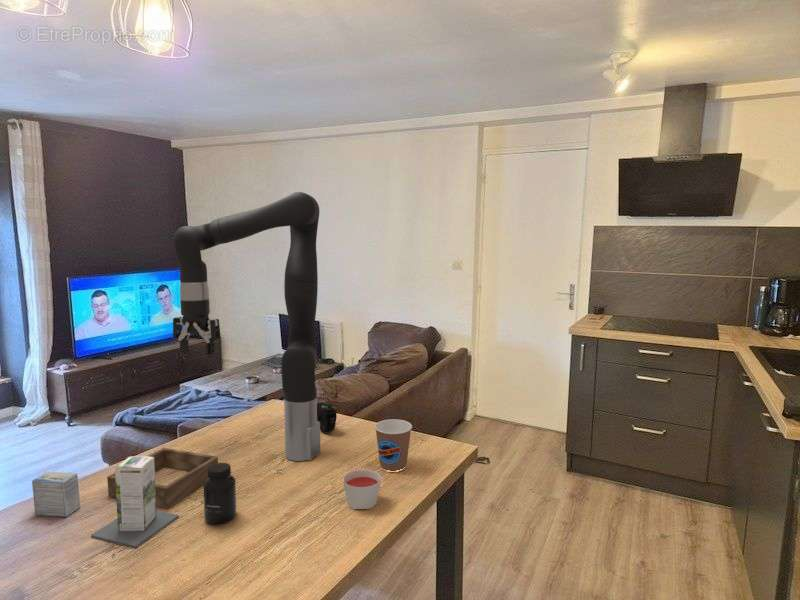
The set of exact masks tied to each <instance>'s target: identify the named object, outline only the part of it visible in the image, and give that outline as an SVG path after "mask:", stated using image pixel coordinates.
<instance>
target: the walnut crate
mask: <svg viewBox="0 0 800 600" xmlns="http://www.w3.org/2000/svg"><path fill="white" fill-rule="evenodd" d="M147 456H148V457H154V468H155V473H156V472H159V471H160V470H162V469H164V468H168V469H169V468H170V469H174V470H179V471H186V472H187V473H185V474H184V475H181V476H180V477H179V478H176V479H175V480H174V481H172V482H171V483H169V484H167V485H163V484H158V483H155V493H156V508H162V509H167V510H168V509H170V508H172V506H175V504H177V503H179V502H180V501H181V500H183V499H185V498H186V497H188V496H189V495H191V494H192V493H193V492H195V491H196V490H198V489H199V488H201V487H202V486H204V482H205V480H206V479H207V478H208V468H209V467H210V466H211V465H213V464H216V463H219V458H218V456H215V455H210V454H204V453H197V452H192V451H185V450H179V449H175V448H169V447H162V448H160V449H158V450H155V452H153V453H151V454H149V455H147ZM106 477H107V493H108V495H107V496H108V497H110V498H116V479H115V472H113V473H111V474H110V475H108V476H106Z"/></svg>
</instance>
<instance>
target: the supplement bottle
mask: <svg viewBox="0 0 800 600" xmlns="http://www.w3.org/2000/svg"><path fill="white" fill-rule="evenodd" d="M236 487H237V486H236V478H235V477H234V476H233V475H232V469H231V464H229V463H227V462H218V463H216V464H213V465H211V466H210V467H209V468H208V478H207V479H206V480H205V482H204V485H203V516H204V517H203V518H204V521H205V522H206V523H207V524H209V525H213V526H220V525H223V524H224V525H225V524H228V523H229V522H231V521H232V520H234V519H235V517H236V514H237V490H236V489H237V488H236Z"/></svg>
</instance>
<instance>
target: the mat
mask: <svg viewBox="0 0 800 600" xmlns="http://www.w3.org/2000/svg"><path fill="white" fill-rule="evenodd" d="M179 517H180V516H179V514H175V513H170V512H167V511H162V510H157V509H156V518H155V519H154V520H153V521H152V522H151V524H150V525H149V526H148V527H147V529H146V530H145V531H118V520H117V518H115V519H114V520H112V521H111V522H109V523H108V524H106V525H104V526H103V527H101V528H99V529H98V530H97V531H95V532H92V534H90V537H91V538H93V539H98V540H103V541H106V542H110V543H113V544H118V545H121V546H126V547H129V548H134V549H136V548H138V547H139V546H141V545H143V543H145V542H146V541H148V540H149V539H150V538H152V537H153V536H155V535H156V534H158V533H159V532H160V531H162V530H163V529H165V528H166V527H167V526H169V525H170V524H171V523H173V522H174V521H175V520H176V521H177V519H178V518H179Z"/></svg>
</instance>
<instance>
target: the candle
mask: <svg viewBox="0 0 800 600" xmlns="http://www.w3.org/2000/svg"><path fill="white" fill-rule="evenodd" d="M342 481H343V486H344V491H345V496H346V497H345V498H346V501H347V505H348V506H349V507H350V509H351V508H352V509H353V508H354V510H356V509H367V510H369V509H368V508H370V509H372V508H374V507H375V506H376V505H377V502H378V498H379V491H380V486H381V481H382V476H381V474H380V473H379V472H377V471H375V470H372V469H365V468H364V469H361V468H360V469H354V470H351V471H349V472H347V473H346V474H345V475H344V476H343V478H342ZM375 504H376V505H375ZM374 505H375V506H374ZM373 506H374V507H373ZM371 507H372V508H371Z"/></svg>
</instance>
